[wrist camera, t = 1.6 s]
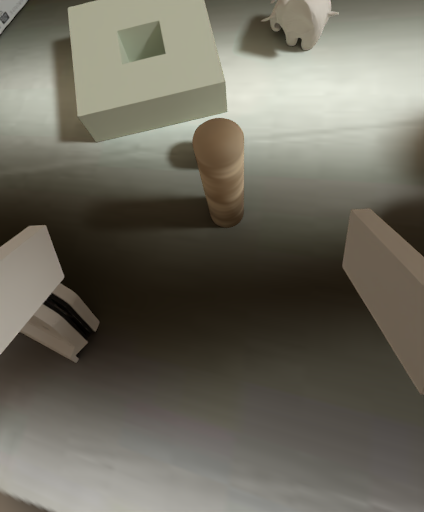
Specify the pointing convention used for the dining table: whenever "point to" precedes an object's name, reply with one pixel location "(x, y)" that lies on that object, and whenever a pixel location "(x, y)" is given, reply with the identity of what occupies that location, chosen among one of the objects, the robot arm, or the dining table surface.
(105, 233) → the dining table surface
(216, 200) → the maple pin
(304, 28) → the elephant figurine
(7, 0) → the tea box
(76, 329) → the magnetic window cleaner
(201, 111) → the sage block
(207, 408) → the dining table surface
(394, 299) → the robot arm
